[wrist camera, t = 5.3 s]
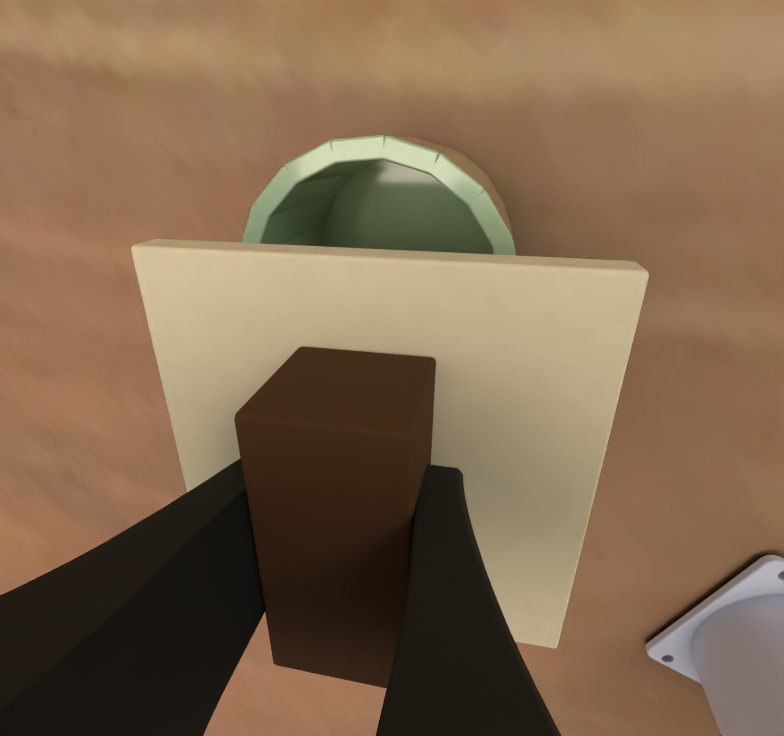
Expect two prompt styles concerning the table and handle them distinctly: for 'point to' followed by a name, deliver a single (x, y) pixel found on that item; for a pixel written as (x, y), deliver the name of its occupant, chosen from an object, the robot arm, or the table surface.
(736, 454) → the table surface
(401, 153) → the cup
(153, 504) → the table surface
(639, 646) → the table surface
